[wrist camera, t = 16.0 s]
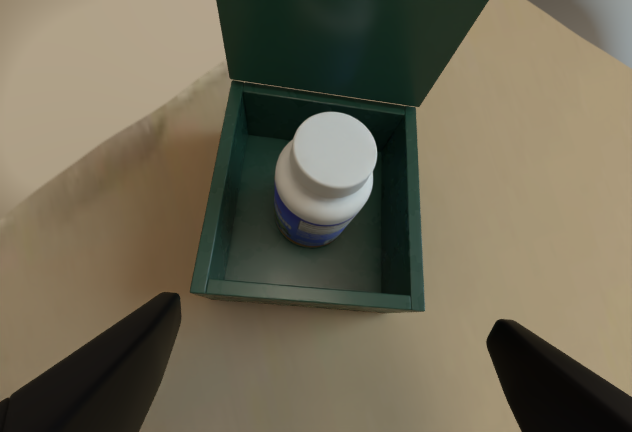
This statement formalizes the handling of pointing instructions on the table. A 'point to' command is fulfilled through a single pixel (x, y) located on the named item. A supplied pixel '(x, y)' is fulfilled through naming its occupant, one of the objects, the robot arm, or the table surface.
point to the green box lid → (346, 44)
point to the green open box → (302, 262)
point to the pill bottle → (323, 178)
